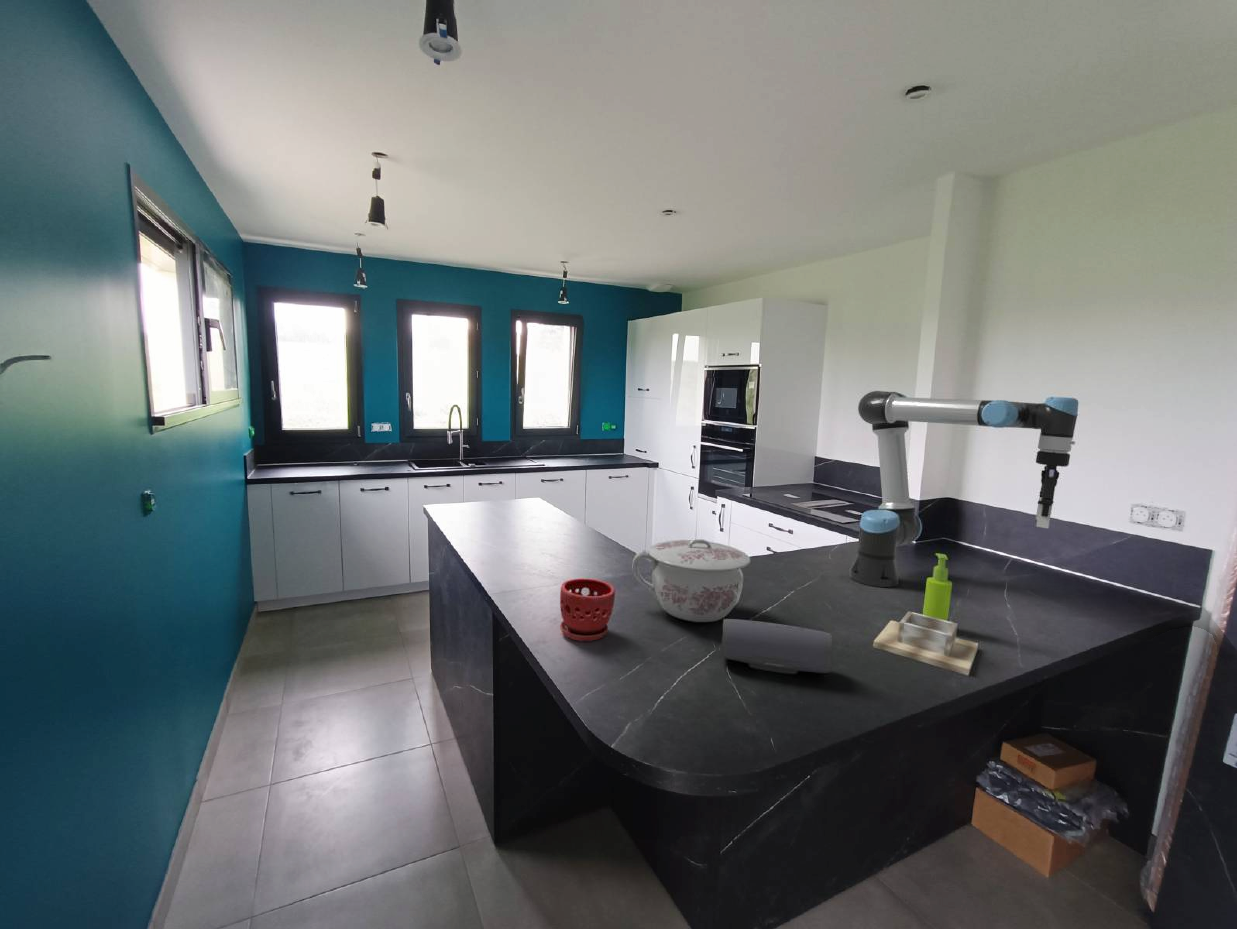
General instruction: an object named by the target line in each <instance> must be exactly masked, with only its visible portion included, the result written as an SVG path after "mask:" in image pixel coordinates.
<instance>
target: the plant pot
mask: <svg viewBox="0 0 1237 929" xmlns="http://www.w3.org/2000/svg"><path fill="white" fill-rule="evenodd" d="M583 589H588V591H589V592H588V594H587V595H584V594H583V593H582V591H583ZM577 590H578V591H577ZM615 592H616V589H615V588H614V586H613V585H612V584H610V583H608V582H605V581H603V580H599V579H594V578H571V579H569V580H565V581H564V582H563V583H562V584H561V586H560V592H559V594H560V595H559V597H560V598H559V604H560V605H559V607H560V608H559V609H560V613H561V618H562V621H561V622H560V624H559V627H560V630H561V633H563V634H564V635H565V636H566V637H568V638H569V639H572V640H576V641H581V642H590V641H595V640H599V639H601V638H603V637H605V635H606V634H607V633H608V632H609V627H608V622H609V621H610V618H611V616H612V612H613V609H614V605H615V604H614V603H615V597H616V596H615V595H616V593H615ZM595 593H596V594H595Z"/></svg>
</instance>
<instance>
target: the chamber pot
mask: <svg viewBox="0 0 1237 929" xmlns="http://www.w3.org/2000/svg"><path fill="white" fill-rule="evenodd" d="M642 559H646V560H648V561H650V563H651V564H650V570H651V581H652V583H650V582H649V581H647V580H646V579H644V577H643V576H642V575H641V573H640V572H639V567H638V566H639V563H640V560H642ZM750 564H751V557H750V556H749V555H748V554H746V552H745V551H742V550H740V549H738V548H735V547H732V546H729V545H726V544H722V543H718V542H714V541H708V540H706V539H703V538H702V539H701V538H700V539H676V540H669V541H667V540H666V541H661V542H658V543H655V544H653V545H651V546H650V547H649V549H648V550H647V551H646V550H640V551H638V552H637V553H636V554H635V556H634V558H633V559H632V565H631V570H632V574H633V576H634V577H635V578H636V580H637V582H638V583H639V584H641V585H642V586H644V587H645V588H646V589H648V590H649V592H650V593H651V594H652V596H654V598H655V600H656V601H658V602H659V604H660V605H661V607H662V609H663V610H664V611H665V612H666V613H667V614H668V615H669V616H672V617H674V618H677V619H679V620H682V621H687V622H691V623H709V622H717V621H719V620H722V619H723V620H724V619H725V618H726V617H727V616H728V615H729V614H730V612H731V611H732V610H733V609H734V608H735V606H736V605H737V603H738V602H739V600H740V597H741V594H742V591H743V587H744V586H743V585H744V584H743V583H744V573H743V570H742V569H743V568H745V567H747V566H748V565H750Z"/></svg>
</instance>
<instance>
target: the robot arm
mask: <svg viewBox="0 0 1237 929" xmlns="http://www.w3.org/2000/svg"><path fill="white" fill-rule="evenodd" d="M1078 409H1079V400H1078V399H1077V398H1074V397H1062V396H1061V397H1060V396H1059V397H1058V396H1048V397H1046V399H1045V401H1044V402H1041V403H1040V402H1039V403H1035V402H1023V401H1022V402H1020V401H1009V400H1005V399H1003V400H1002V399H1001V400H1000V399H997V400H993V399H992V400H990V399H989V400H986V399H985V400H984V399H964V398H963V399H958V398H934V397H933V398H929V397H907V396H906V395H905V394H903V393H900V392H896V391H883V390H873V391H869V392H868V393H866V394H864V395H863V397H861V399H860V400H859V402H858V407H857V410H858V411H857V412H858V414H859V416H860V418H861V419H862V420H863V421H864V422H866V423H867V424H869V425H871V428H872V432H873V433H874V435H876V436H877V446H878V447H877V448H878V460H879V472H880V474H879V476H880V484H881V499H882V500H881V501H882V503H881V504H880V505H879V506H878V509H870V510H866V511H864V512H863V513H862V515H861V518H860V521H859V534H858V540H857V541H858V542H857V543H858V544H857V553H856V556H855V558H854V561H853V563H852V565H851V567H850V568H849V575H848V577H849V578H850V579H851V580H854V581H855V582H857V583H859V584H864V585H866V586H867V585H868V586H871V587H878V588H893V587H896V586H898V584H899V575H898V574H899V573H898V570H897V566H896V554H897V553H896V550H897V547H901V546H907V545H910V544H911V543H913V542H915V541H916V540H918V538H919V537H920V536H921V533H922V530H923V523H922V521H921V518H920V517H919V516H918V515H917V514H916V507H915V505H914V504H913V503H912V502H911V501H910V490H909V489H910V488H909V479H908V476H909V475H908V465H907V463H908V462H907V452H906V451H907V450H906V438H905V434H906V432H908V430H909V428H910V427H909V422H917V423H930V424H931V423H934V424H946V425H960V426H961V425H964V426H978V427H987V428H989V427H991V428H997V429H1002V428H1003V429H1004V428H1017V429H1033V430H1040V435H1039V438H1038V443H1037V444H1038V445H1037V448H1038V449H1039V450H1038V451H1037V452H1036V457H1035V458H1036V459H1035V463H1036V464H1038V465H1043V468H1044V469H1042V470H1041V474H1040V475H1041V478H1040V484H1041V486H1040V491H1039V498H1038V500H1037V508H1036V515H1035V520H1037V521H1036V528H1043V529H1049V527H1050V521H1051V515H1052V510H1053V505H1054V496H1055V492H1056V491H1055V489H1056V487H1057V485H1058V479H1059V477H1060V472H1059V471H1058V470H1057V467H1068V466H1069V464H1070V458H1071V454H1070V453H1068V452H1071V450H1072V445H1073V446H1074V445H1075V444H1076V441H1074V440H1073V438H1074V435H1075V434H1074V433H1075V428H1076V424H1077V420H1078V419H1077V418H1078V416H1079V415H1078ZM1044 465H1045V466H1044Z"/></svg>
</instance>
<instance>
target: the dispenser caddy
mask: <svg viewBox="0 0 1237 929" xmlns="http://www.w3.org/2000/svg"><path fill="white" fill-rule="evenodd" d="M958 625H959V624H958V622H953V621H950V620H949V621H948V620H947V621H945V620H941V619H937V618H933V617H929V616H925V615H923V613H922V614H921V613H917V612H913V611H907V612H906V614H905V615H904V616H903V617H902V619H901V620H900V621H895V620H890V621H889V622H888V623H887V624H886V625H885V627H884V628H883V629H882V631H880V633H879V634H877V637H875V639H874V640H873V644H872V647H873V648H874V649H875V648H876V649H878V650H882V651H885V652H889V653H891V654H895V655H898V656H902V657H905V658H908V659H912V660H915V661H919V662H922V663H926V664H928V665H930V666H931V665H932V666H935V667H938V668H942V669H945V670H948V671H951V672H956V673H958V674H962V675H965V676H969V675H970V672H971V669H972V667H973V663H974V661H975V657H976V655H977V652H978V648H979V643H977V642H974V641H971V640H967V639H962V638H958V637H957V632H958V631H957V630H958Z"/></svg>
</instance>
